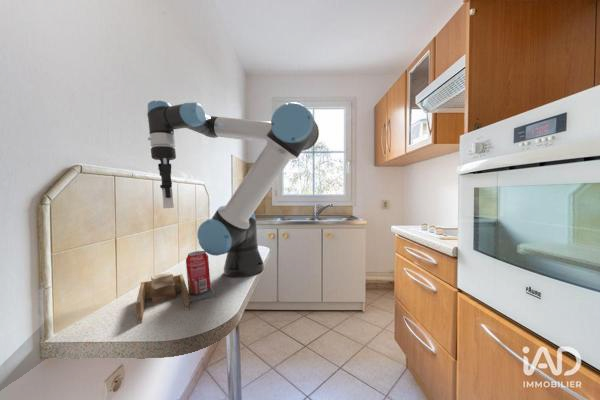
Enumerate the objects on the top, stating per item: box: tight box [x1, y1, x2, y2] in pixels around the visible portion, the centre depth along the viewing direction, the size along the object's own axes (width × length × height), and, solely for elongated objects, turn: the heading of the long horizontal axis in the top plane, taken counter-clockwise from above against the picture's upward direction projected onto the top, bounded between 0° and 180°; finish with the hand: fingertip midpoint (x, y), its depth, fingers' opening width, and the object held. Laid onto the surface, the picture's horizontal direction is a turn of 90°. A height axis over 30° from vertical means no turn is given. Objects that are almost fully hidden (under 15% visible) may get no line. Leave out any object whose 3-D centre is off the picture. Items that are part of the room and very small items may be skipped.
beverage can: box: [185, 250, 212, 295], centre depth 74 cm, size 6×6×12 cm
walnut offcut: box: [151, 281, 177, 304], centre depth 73 cm, size 6×4×4 cm, turn 120°
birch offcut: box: [150, 272, 174, 289], centre depth 73 cm, size 5×3×3 cm
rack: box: [136, 273, 190, 324], centre depth 68 cm, size 11×18×5 cm, turn 30°
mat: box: [188, 287, 216, 304], centre depth 73 cm, size 7×9×1 cm
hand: (168, 208), depth 85 cm, fingers open, 13 cm apart
